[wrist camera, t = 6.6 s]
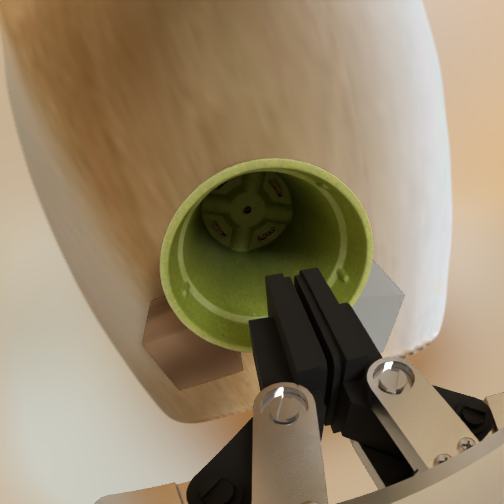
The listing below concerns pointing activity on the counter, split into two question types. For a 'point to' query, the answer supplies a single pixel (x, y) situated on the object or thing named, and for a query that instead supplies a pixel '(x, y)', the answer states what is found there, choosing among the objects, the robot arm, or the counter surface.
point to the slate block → (379, 306)
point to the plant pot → (260, 244)
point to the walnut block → (185, 349)
